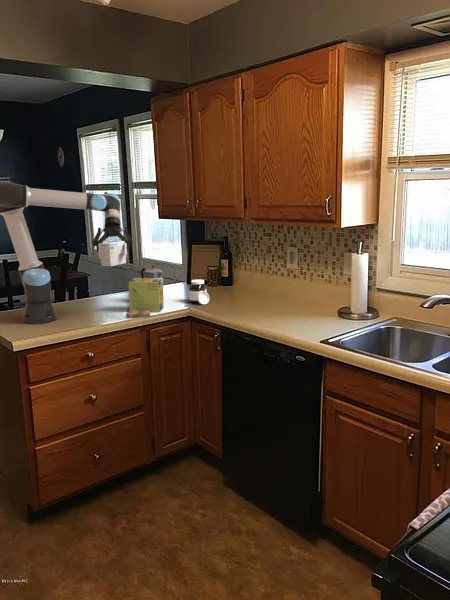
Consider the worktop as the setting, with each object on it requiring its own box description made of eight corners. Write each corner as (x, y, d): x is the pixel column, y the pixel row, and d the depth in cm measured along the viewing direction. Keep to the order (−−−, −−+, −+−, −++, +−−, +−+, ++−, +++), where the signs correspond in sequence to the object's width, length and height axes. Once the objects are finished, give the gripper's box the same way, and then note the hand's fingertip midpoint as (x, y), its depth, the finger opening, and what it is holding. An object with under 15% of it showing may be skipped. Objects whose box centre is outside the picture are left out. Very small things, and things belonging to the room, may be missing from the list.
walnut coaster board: (128, 317, 250) (128, 314, 250) (129, 313, 258) (128, 310, 257) (149, 316, 251) (149, 313, 251) (149, 312, 259) (149, 309, 259)
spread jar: (196, 299, 288) (195, 278, 286) (214, 301, 283) (214, 280, 281) (185, 304, 278) (184, 282, 275) (204, 306, 273) (203, 283, 270)
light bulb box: (116, 262, 257) (114, 240, 255) (126, 263, 253) (125, 240, 251) (100, 265, 248) (98, 242, 246) (111, 266, 245) (109, 243, 242)
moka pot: (158, 305, 275) (157, 267, 270) (135, 302, 282) (134, 265, 278) (169, 301, 283) (168, 265, 279) (146, 299, 290) (145, 263, 286)
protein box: (160, 312, 260) (158, 281, 256) (129, 312, 261) (127, 281, 258) (164, 307, 270) (163, 278, 266) (134, 307, 271) (133, 277, 268)
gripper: (137, 224, 264) (138, 259, 252) (88, 226, 260) (88, 262, 249) (136, 214, 257) (138, 250, 246) (86, 216, 254) (85, 252, 243)
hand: (112, 256), depth 247 cm, fingers closed on light bulb box, 11 cm apart
